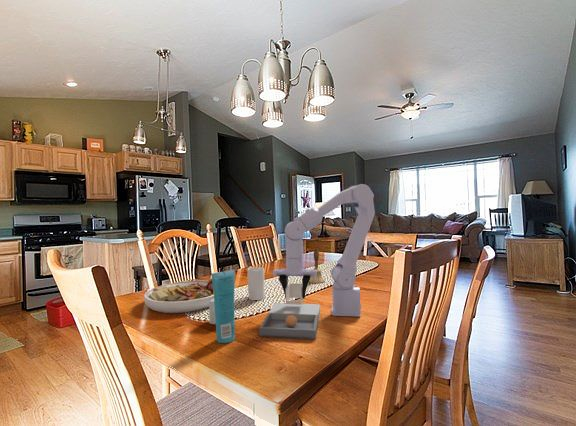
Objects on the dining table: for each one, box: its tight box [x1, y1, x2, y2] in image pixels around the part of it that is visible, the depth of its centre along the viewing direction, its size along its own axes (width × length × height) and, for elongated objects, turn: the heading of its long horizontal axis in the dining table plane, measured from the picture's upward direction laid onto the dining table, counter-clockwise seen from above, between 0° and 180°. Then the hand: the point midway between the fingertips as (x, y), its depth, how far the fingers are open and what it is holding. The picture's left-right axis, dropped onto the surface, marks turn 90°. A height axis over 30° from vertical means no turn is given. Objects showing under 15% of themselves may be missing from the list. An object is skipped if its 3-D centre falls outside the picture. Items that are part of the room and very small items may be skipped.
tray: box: [258, 312, 319, 340], centre depth 91 cm, size 16×12×2 cm
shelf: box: [268, 302, 321, 323], centre depth 102 cm, size 16×10×2 cm, turn 81°
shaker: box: [285, 282, 304, 305], centre depth 102 cm, size 5×7×5 cm
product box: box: [208, 299, 235, 325], centre depth 98 cm, size 6×6×7 cm
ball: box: [286, 315, 297, 327], centre depth 92 cm, size 3×3×3 cm
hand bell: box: [309, 247, 326, 284], centre depth 147 cm, size 8×8×16 cm
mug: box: [247, 266, 265, 301], centre depth 123 cm, size 10×7×12 cm, turn 21°
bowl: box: [143, 278, 214, 314], centre depth 119 cm, size 30×30×8 cm
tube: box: [210, 269, 236, 344], centre depth 84 cm, size 7×5×19 cm, turn 140°
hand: (295, 297), depth 102 cm, fingers closed on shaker, 5 cm apart
